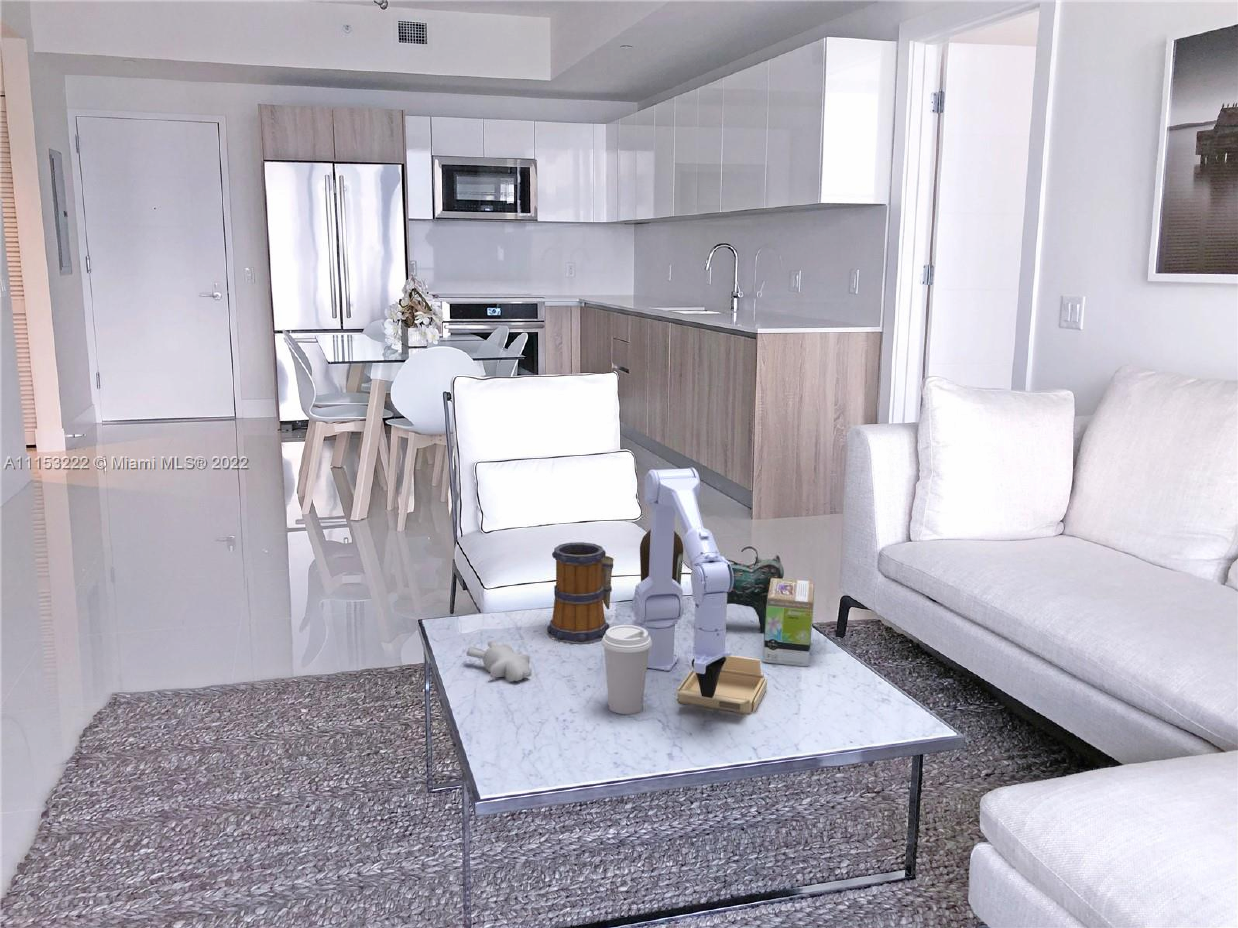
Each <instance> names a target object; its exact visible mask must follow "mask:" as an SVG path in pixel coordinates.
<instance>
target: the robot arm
mask: <svg viewBox="0 0 1238 928" xmlns="http://www.w3.org/2000/svg"><path fill="white" fill-rule="evenodd" d="M700 479H701V478H700V476H699V473H698V471H697V470H696V469H695V468H694V467H689V468H672V469H671V468H670V469H650V470H648V471H647V474H646V475H645V477H644V489H643V490H644V493H643V494H644V495H643V498H644V503H645V504H646V505H650V506H651V507H650V509H651V511H650V515H651V516H650V529H651V535H650V560H649V576H648V577H647V578H646V579H644V580H643V581H642V582H641V581H640V582H639V583H637V584H636V585H635V589H634V595H633V597H632V612H633V616H634V619H633V620H632V621H631V623H630V625H633V626H638V627H642V628H644V629H645V630H647V632H648V635H649V636H650V638H651V641H652V646H651V647H650V648H649V654H648V663H647V669H653V670H660V671H668V672H669V671H671V670H672V669H673V667H674V666H675V664H677V662H678V661H679V659H680V655H678V654H675V632H676V631H675V630H676V629H675V628H676V627H675V626H676V625H678V623H679V620H681V619H682V617H683V615H684V612H685V603H684V594H683V593H684V592H683V588H682V586H680V585H679V583H677V582H676V581H675V580H673V579H672V568H673V546H674V531H675V524H676V522H675V521H676V516H677V518H678V520H679V523H680V525H681V527H682V529H683V531H684V533H685V535H684V536H683V538H682V539H683V540H682V543H683V549H684V551H685V553H686V555H687V559H688V562H689V565H690V567H691V574H690V584H691V588H692V600H693V602H694V633H693V635H694V636H693V647H692V656H693V658H692V660H691V667H692V668H693V669H694V670H693V672H694V673H696V675H697V678H698V682H699V687H700V692H701V695H702V697H708V698H712V697H713V696H714V694H715V691H716V687H717V682H718V678H719V675H720V672H721V669H722V667H723V665H724V663H725V661H726V657H729V656H730V655H732V649H728V648H727V647H726V637H727V636H726V634H727V633H726V632H727V615H728V613H727V612H728V611H727V608H728V604H727V593H726V592H730V591H731V590H732V588H733V582H734V578H733V571H732V568H731V564H732V563H730V561H727V560H726V559H727V558H725V556H721V553H720V551H719V547H718V546H717V543H716V541H715V538H714V535H713V533H712V531H711V530H709V529H708V528H705V527H704V524H703V520H702V515H701V513H700V508H699V505H698V499H699V496H700V495H699V494H700V490H701V480H700Z"/></svg>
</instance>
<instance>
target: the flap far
mask: <svg viewBox="0 0 1238 928" xmlns="http://www.w3.org/2000/svg"><path fill="white" fill-rule="evenodd" d="M722 669H727V670H733V671H740V672H747V673H753V674H760V675H761V674H762V670H761V660H760V659H759V658H753V657H752V658H751V657H746V656H745V657H744V656H739V655H734V654H733V655H732V654H731V655H730V656H729V657H726V661H725V663H724V665H723V667H722Z"/></svg>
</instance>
